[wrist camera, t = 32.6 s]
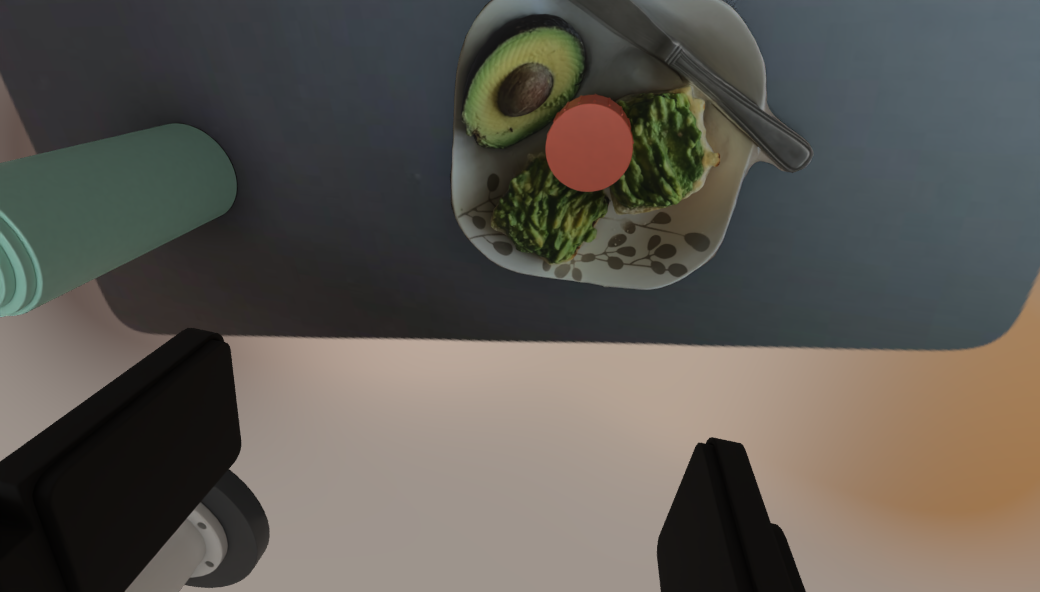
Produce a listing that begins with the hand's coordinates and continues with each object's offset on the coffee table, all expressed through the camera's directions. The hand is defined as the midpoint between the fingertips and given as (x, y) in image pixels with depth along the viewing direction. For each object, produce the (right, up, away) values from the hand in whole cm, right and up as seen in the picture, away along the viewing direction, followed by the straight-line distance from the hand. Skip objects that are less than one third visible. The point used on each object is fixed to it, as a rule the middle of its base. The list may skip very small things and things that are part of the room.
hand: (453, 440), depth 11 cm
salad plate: (+5, +12, +20) cm, 24 cm away
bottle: (-21, +11, +25) cm, 34 cm away
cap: (+5, +11, +16) cm, 20 cm away
